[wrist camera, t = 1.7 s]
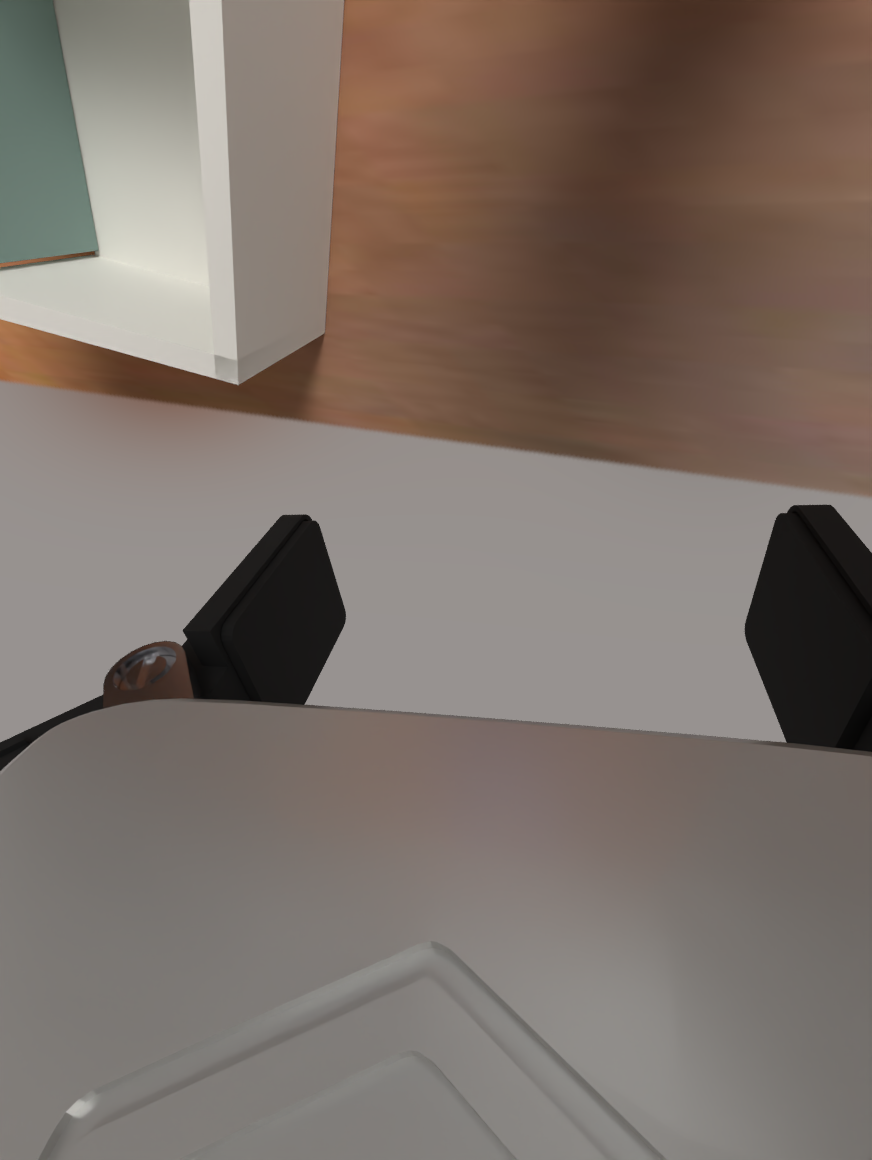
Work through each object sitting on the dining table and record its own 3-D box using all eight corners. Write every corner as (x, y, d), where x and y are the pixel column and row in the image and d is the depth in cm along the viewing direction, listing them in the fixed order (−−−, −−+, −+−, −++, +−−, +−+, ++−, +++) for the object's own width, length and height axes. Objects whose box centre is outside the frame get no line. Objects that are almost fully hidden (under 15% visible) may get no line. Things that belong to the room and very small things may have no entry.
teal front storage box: (354, -181, 22) (201, -451, 13) (324, 333, 35) (238, 385, 26) (8, -264, 23) (-384, -584, 13) (105, 273, 36) (-57, 303, 26)
